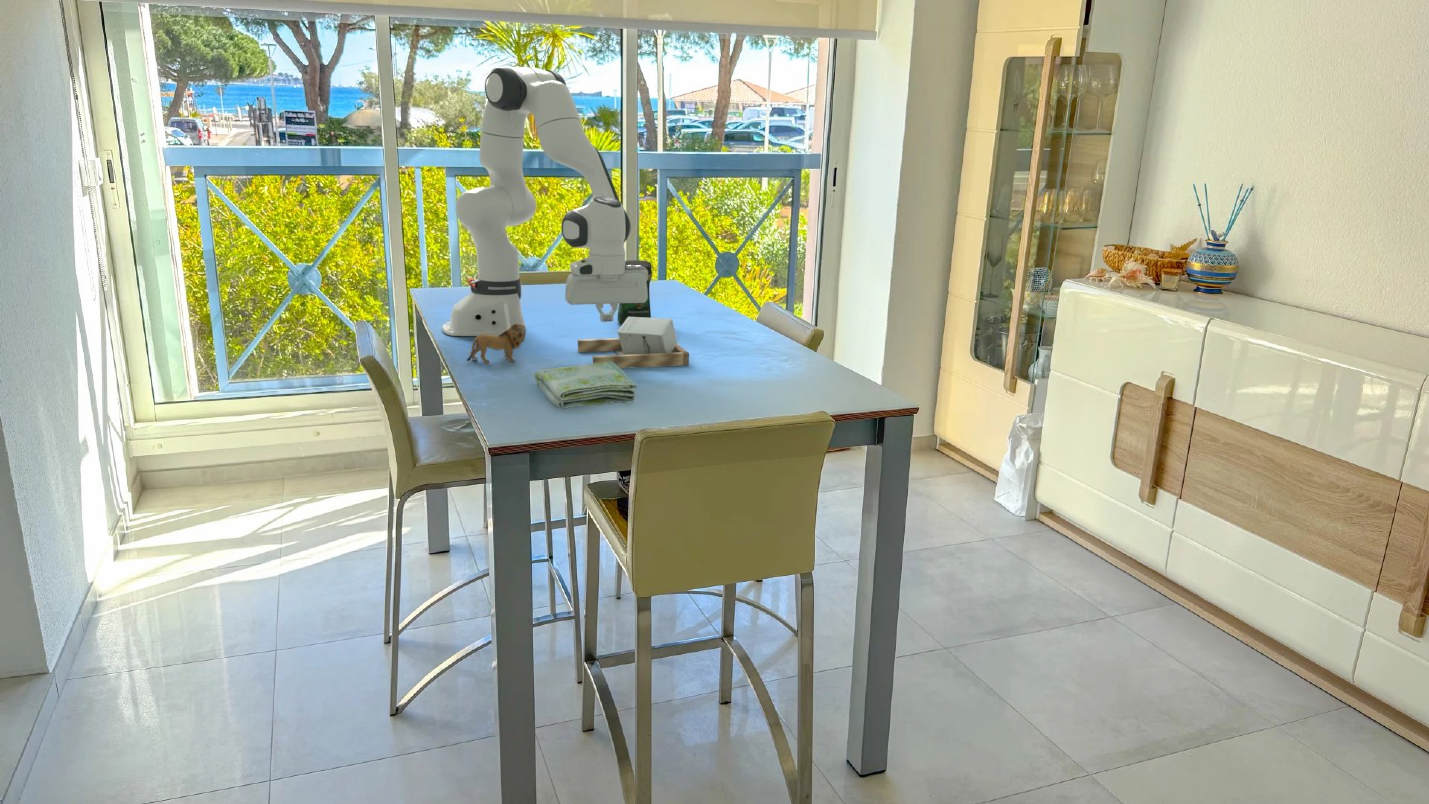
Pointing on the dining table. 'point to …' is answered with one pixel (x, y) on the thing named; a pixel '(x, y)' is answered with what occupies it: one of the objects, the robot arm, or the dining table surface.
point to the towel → (586, 384)
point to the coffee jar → (636, 308)
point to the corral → (632, 360)
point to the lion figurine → (499, 342)
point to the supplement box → (647, 335)
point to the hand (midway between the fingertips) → (606, 321)
